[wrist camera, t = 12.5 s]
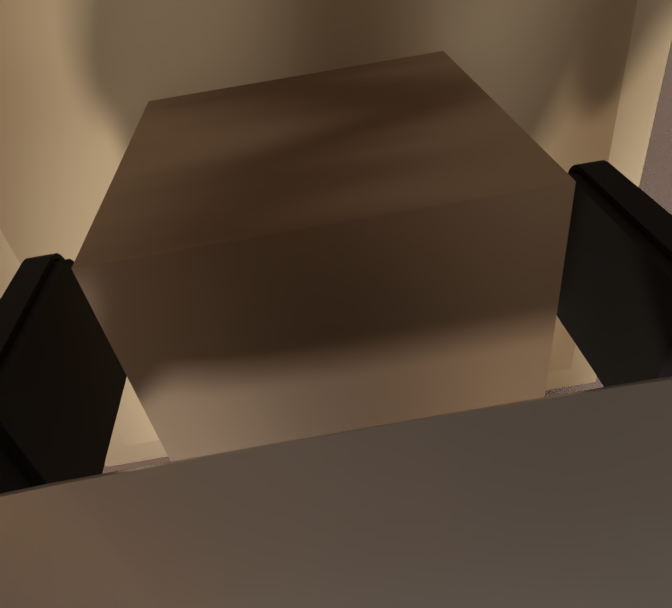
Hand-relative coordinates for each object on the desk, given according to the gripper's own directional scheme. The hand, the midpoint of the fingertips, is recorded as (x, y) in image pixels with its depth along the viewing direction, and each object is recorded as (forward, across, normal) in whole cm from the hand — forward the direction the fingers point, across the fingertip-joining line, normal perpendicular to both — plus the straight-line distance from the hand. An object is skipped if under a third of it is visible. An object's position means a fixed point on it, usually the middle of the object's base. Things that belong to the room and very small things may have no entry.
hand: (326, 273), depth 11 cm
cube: (+3, 0, 0) cm, 3 cm away
